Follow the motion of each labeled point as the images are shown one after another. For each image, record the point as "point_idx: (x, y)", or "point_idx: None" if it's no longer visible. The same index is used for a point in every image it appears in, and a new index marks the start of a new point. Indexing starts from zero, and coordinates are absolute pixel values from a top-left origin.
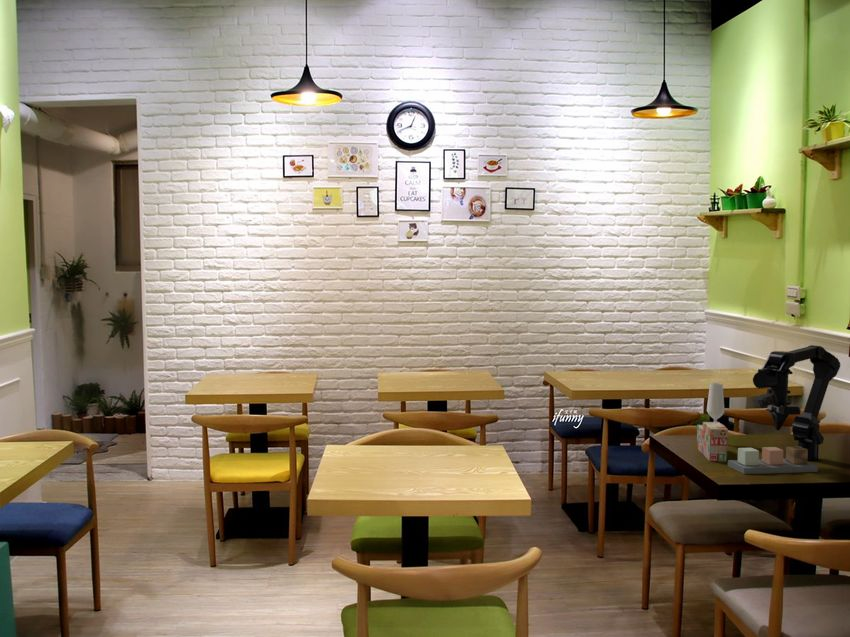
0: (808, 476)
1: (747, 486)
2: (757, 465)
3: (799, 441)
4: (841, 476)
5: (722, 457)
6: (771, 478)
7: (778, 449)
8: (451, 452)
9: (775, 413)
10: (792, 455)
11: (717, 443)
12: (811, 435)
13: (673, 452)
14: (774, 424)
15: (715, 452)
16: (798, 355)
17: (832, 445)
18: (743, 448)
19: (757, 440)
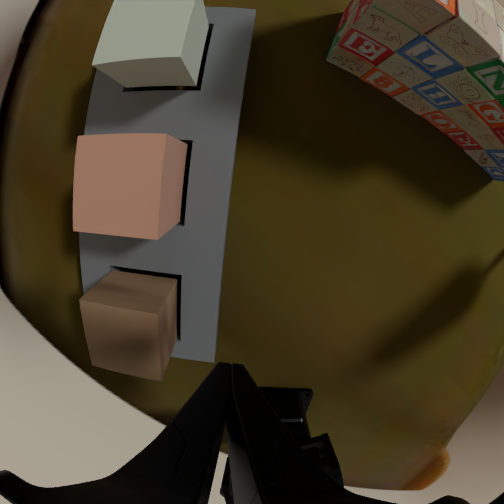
0: (48, 253)
1: (34, 11)
2: (143, 92)
3: (301, 438)
4: (58, 349)
5: (337, 39)
6: (50, 100)
7: (91, 211)
8: None
9: (7, 477)
10: (108, 287)
11: None
12: (227, 476)
13: None
14: (250, 396)
15: (351, 7)
16: None
17: (356, 477)
18: (176, 5)
19: (476, 368)
